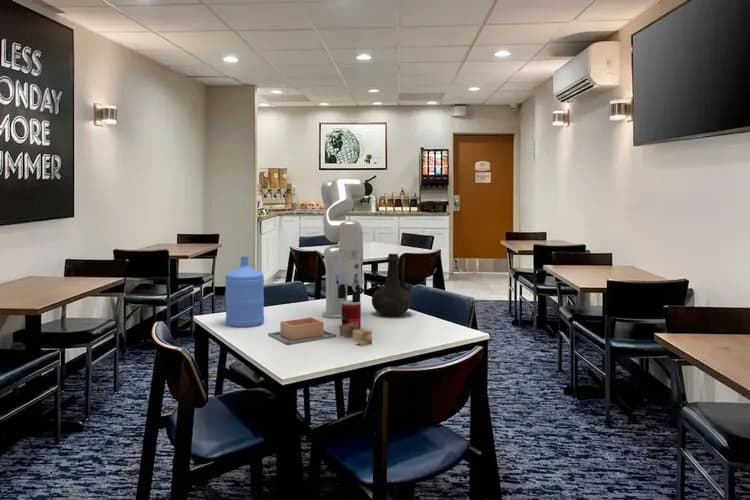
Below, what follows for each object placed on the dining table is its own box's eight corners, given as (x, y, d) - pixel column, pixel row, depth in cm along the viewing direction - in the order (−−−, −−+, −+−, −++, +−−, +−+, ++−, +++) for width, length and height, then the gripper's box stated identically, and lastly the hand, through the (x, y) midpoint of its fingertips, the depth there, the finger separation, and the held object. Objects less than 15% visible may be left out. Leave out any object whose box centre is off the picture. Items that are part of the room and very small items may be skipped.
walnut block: (350, 336, 205) (350, 323, 205) (357, 339, 201) (357, 326, 201) (339, 338, 202) (339, 325, 202) (346, 340, 198) (346, 327, 198)
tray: (314, 330, 212) (314, 326, 212) (336, 339, 199) (336, 334, 199) (268, 337, 201) (268, 333, 200) (287, 347, 188) (287, 342, 188)
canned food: (363, 327, 219) (363, 300, 218) (356, 331, 211) (356, 304, 210) (345, 325, 221) (346, 299, 220) (338, 330, 214) (338, 303, 213)
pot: (311, 331, 207) (311, 317, 207) (323, 336, 200) (323, 321, 200) (280, 336, 200) (280, 321, 199) (291, 341, 192) (291, 326, 192)
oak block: (363, 341, 198) (364, 328, 197) (371, 344, 194) (371, 331, 193) (352, 343, 195) (352, 330, 194) (360, 346, 191) (360, 332, 190)
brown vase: (366, 311, 249) (366, 252, 246) (400, 309, 255) (401, 251, 253) (380, 320, 232) (381, 256, 229) (417, 317, 239) (418, 255, 236)
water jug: (265, 326, 218) (265, 258, 216) (226, 328, 214) (225, 259, 211) (262, 318, 233) (262, 254, 230) (225, 320, 229) (224, 255, 226)
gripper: (370, 256, 194) (370, 302, 195) (345, 252, 208) (344, 296, 209) (353, 257, 189) (353, 304, 191) (328, 253, 203) (328, 297, 205)
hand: (349, 300), depth 200 cm, fingers open, 9 cm apart
